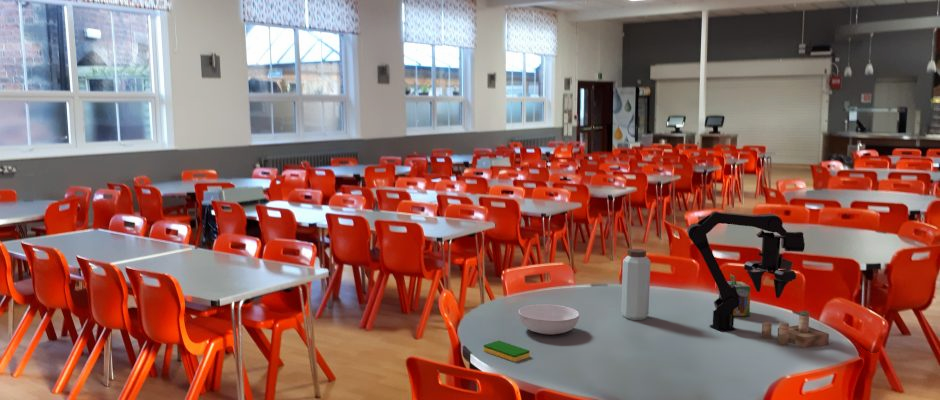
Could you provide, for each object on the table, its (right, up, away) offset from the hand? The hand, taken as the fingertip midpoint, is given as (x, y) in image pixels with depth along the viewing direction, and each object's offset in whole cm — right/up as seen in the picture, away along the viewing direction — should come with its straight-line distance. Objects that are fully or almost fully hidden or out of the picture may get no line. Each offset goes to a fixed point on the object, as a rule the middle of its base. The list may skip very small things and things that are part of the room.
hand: (768, 294), depth 258 cm
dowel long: (+8, -14, -9) cm, 19 cm away
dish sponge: (-92, -16, -24) cm, 96 cm away
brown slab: (+8, -14, -9) cm, 19 cm away
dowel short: (-3, -14, -5) cm, 15 cm away
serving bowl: (-76, -13, 0) cm, 77 cm away
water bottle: (-42, -11, +18) cm, 47 cm away
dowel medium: (0, -15, -12) cm, 19 cm away
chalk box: (-4, -10, +24) cm, 26 cm away
